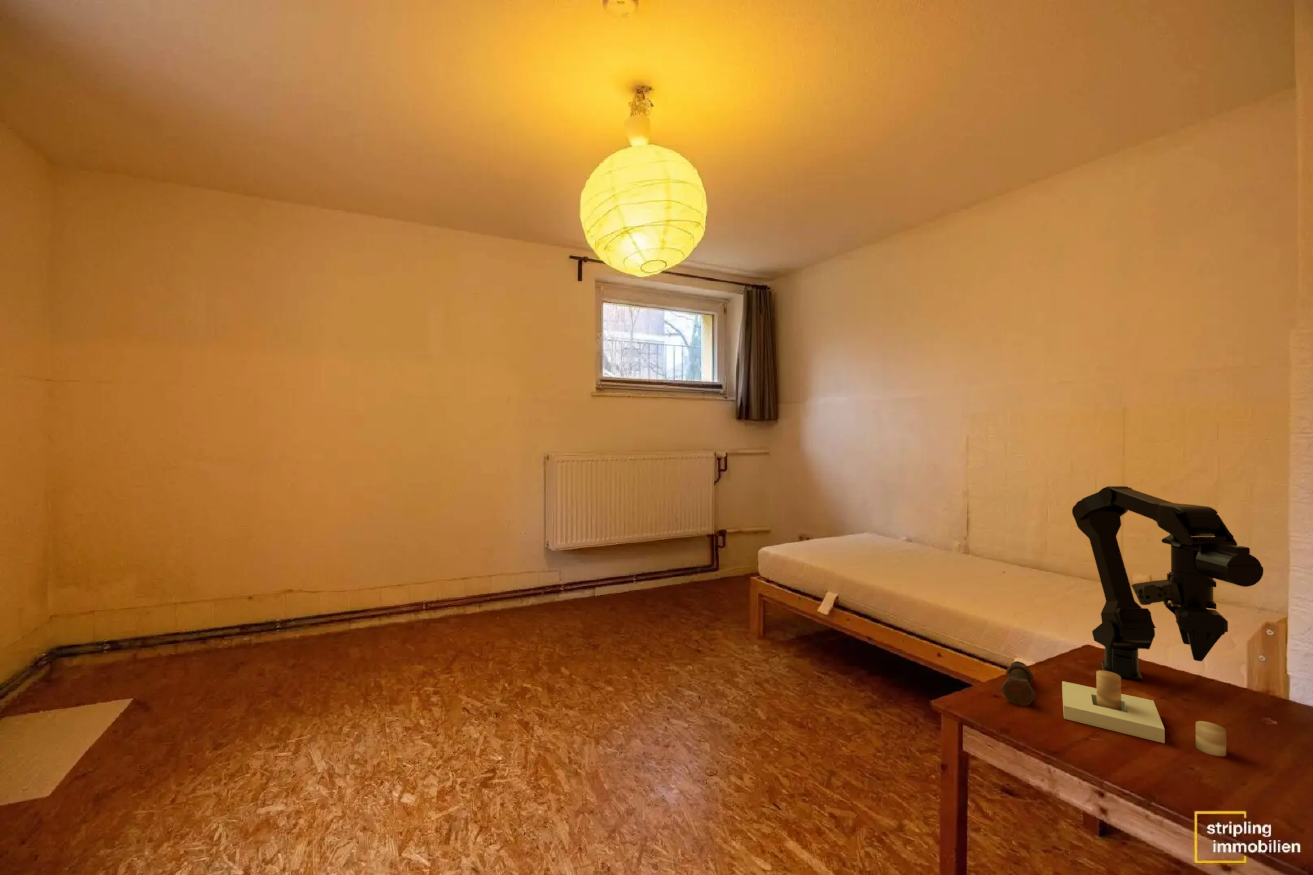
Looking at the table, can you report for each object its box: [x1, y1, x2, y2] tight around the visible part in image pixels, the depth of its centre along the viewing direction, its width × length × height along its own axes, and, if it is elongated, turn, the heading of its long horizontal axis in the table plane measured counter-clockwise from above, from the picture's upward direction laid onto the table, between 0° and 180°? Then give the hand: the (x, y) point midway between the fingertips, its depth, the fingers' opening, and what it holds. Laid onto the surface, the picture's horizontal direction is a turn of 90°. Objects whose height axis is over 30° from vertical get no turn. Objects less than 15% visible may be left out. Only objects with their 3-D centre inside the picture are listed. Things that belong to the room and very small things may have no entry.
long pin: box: [1095, 669, 1122, 711], centre depth 101 cm, size 4×4×8 cm
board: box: [1061, 680, 1166, 744], centre depth 101 cm, size 12×14×2 cm
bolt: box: [1000, 660, 1037, 707], centre depth 112 cm, size 6×5×15 cm
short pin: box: [1195, 720, 1227, 757], centre depth 90 cm, size 4×4×4 cm
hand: (1192, 651), depth 101 cm, fingers open, 9 cm apart
